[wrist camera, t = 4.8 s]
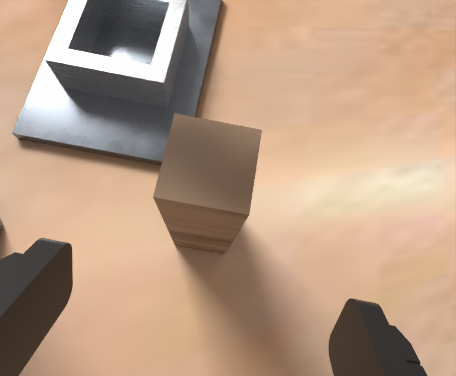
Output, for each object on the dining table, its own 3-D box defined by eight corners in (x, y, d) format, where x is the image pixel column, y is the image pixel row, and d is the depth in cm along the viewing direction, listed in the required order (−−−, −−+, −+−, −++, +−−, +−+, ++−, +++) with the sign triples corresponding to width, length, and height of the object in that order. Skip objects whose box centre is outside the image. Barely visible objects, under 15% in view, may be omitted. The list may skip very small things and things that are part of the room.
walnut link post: (224, 253, 29) (249, 214, 15) (174, 244, 29) (153, 196, 15) (232, 206, 31) (261, 130, 17) (185, 197, 31) (174, 113, 16)
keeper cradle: (183, 169, 31) (180, 147, 27) (17, 138, 31) (-15, 109, 26) (222, -1, 39) (225, -42, 34) (87, -28, 38) (72, -74, 33)
